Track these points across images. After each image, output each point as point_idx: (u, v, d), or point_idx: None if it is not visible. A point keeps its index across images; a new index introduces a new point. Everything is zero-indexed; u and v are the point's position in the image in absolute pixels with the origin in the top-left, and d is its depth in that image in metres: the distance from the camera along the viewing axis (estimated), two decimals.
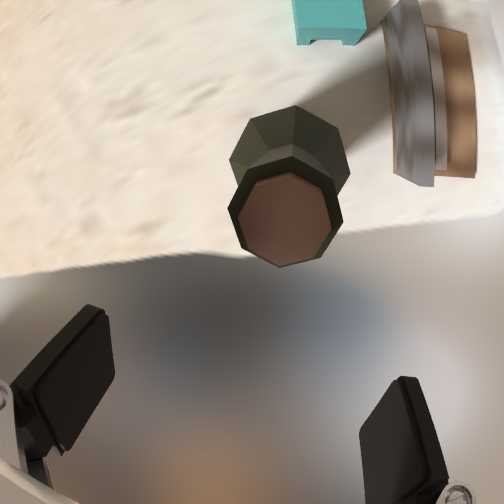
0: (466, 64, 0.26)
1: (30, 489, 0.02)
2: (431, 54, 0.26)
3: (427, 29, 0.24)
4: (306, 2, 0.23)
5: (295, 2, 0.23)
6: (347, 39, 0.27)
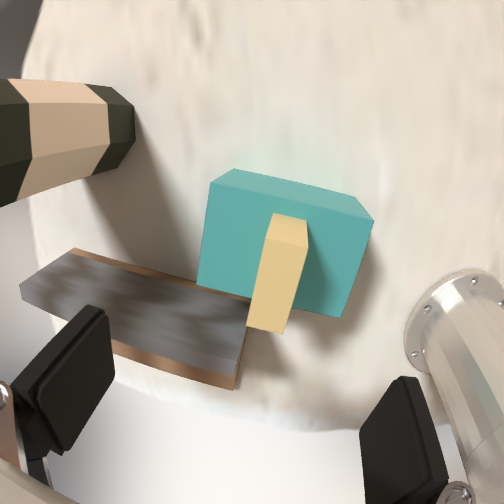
0: (192, 375, 0.32)
1: (30, 489, 0.02)
2: None
3: None
4: (256, 211, 0.18)
5: (261, 194, 0.18)
6: None
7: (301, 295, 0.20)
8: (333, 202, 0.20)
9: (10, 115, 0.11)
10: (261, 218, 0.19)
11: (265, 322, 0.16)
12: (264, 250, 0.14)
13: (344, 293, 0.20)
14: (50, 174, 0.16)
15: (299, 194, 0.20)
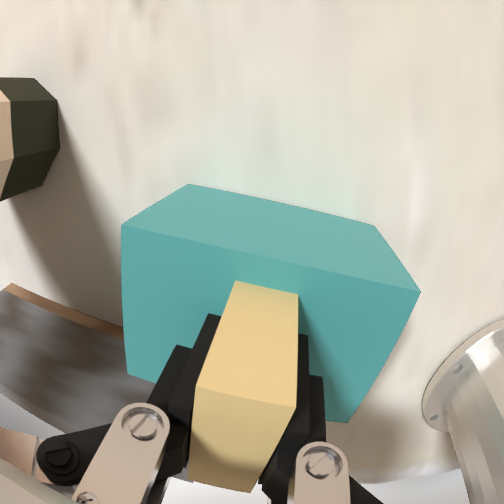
0: None
1: (30, 489, 0.02)
2: None
3: None
4: (205, 277, 0.10)
5: (211, 247, 0.09)
6: None
7: None
8: (346, 249, 0.11)
9: None
10: (215, 289, 0.10)
11: (218, 481, 0.07)
12: (197, 404, 0.06)
13: (357, 396, 0.11)
14: None
15: (287, 236, 0.11)
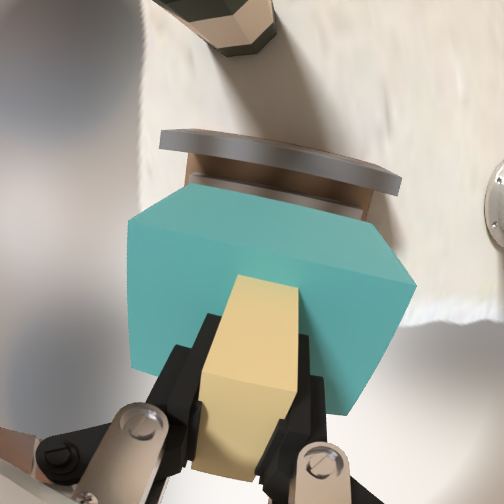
0: None
1: (30, 489, 0.02)
2: (326, 203, 0.30)
3: (358, 212, 0.30)
4: (208, 271, 0.10)
5: (215, 243, 0.10)
6: None
7: None
8: (345, 245, 0.12)
9: None
10: (218, 284, 0.10)
11: (222, 471, 0.08)
12: (203, 390, 0.06)
13: (356, 388, 0.12)
14: (251, 14, 0.18)
15: (287, 233, 0.12)
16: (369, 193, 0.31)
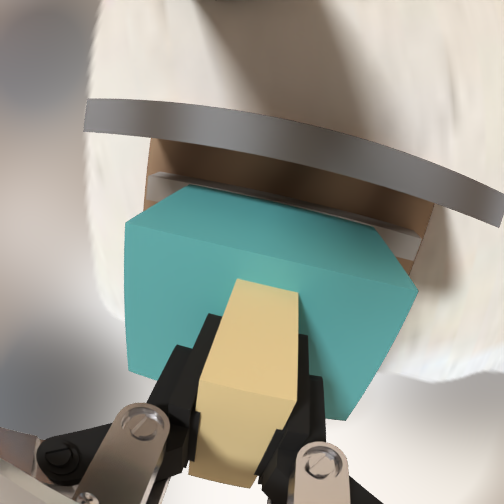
0: None
1: (30, 489, 0.02)
2: None
3: (415, 241, 0.18)
4: (206, 275, 0.10)
5: (214, 246, 0.10)
6: None
7: None
8: (346, 249, 0.12)
9: None
10: (217, 287, 0.10)
11: (219, 476, 0.08)
12: (200, 398, 0.06)
13: (355, 393, 0.11)
14: None
15: (287, 236, 0.11)
16: (428, 211, 0.19)
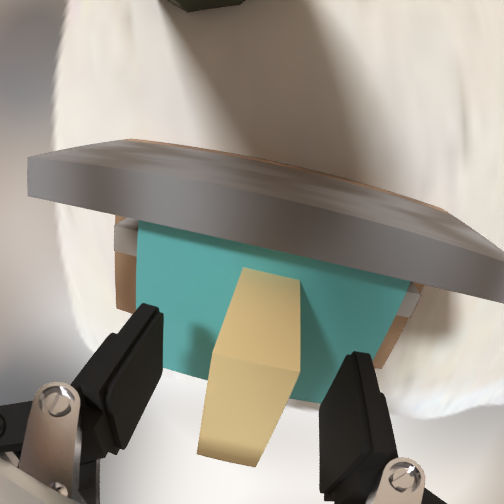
0: None
1: (30, 489, 0.02)
2: None
3: (413, 297, 0.16)
4: (215, 264, 0.11)
5: None
6: None
7: None
8: None
9: None
10: (224, 276, 0.11)
11: (226, 454, 0.08)
12: (212, 371, 0.07)
13: None
14: None
15: None
16: None
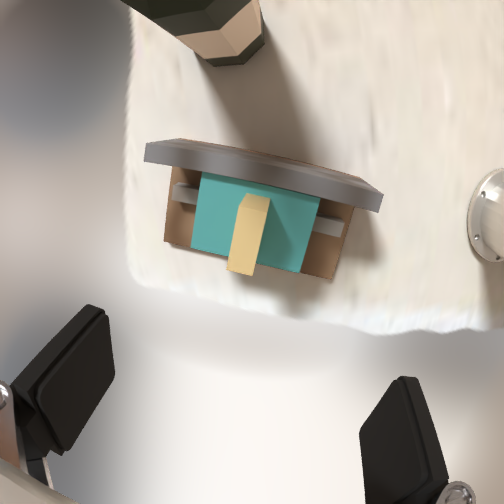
0: None
1: (30, 489, 0.02)
2: None
3: (340, 224, 0.31)
4: (235, 192, 0.26)
5: (238, 180, 0.25)
6: None
7: (268, 254, 0.27)
8: None
9: None
10: (238, 197, 0.26)
11: (239, 267, 0.23)
12: (238, 214, 0.22)
13: (301, 253, 0.27)
14: (239, 27, 0.19)
15: None
16: (351, 206, 0.32)
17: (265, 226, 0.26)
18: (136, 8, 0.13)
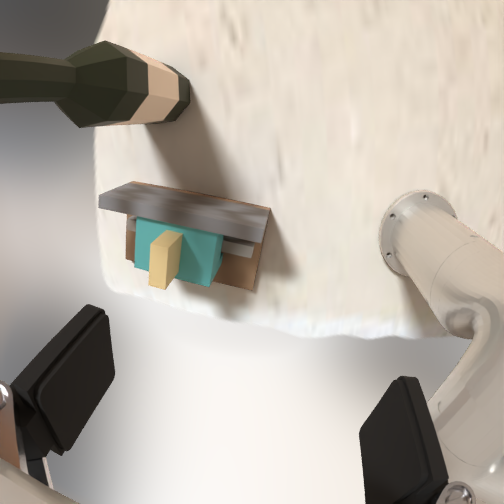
0: (221, 278, 0.44)
1: (30, 489, 0.02)
2: (224, 242, 0.40)
3: (250, 248, 0.40)
4: (158, 229, 0.35)
5: None
6: None
7: (186, 273, 0.37)
8: None
9: (141, 67, 0.23)
10: (161, 232, 0.35)
11: (156, 283, 0.33)
12: (150, 249, 0.31)
13: (208, 272, 0.36)
14: (149, 109, 0.28)
15: None
16: None
17: (181, 253, 0.36)
18: (69, 118, 0.23)
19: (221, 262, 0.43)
